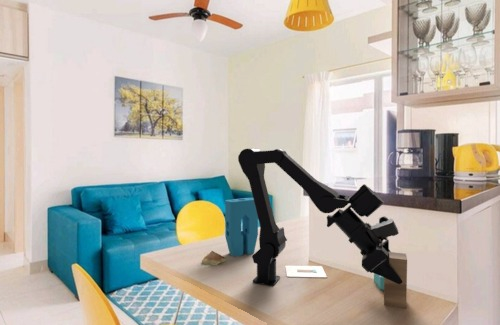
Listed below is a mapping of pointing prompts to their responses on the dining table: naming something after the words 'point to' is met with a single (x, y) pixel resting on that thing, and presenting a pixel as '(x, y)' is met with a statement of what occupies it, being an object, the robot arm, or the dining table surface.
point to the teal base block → (379, 281)
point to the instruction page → (305, 271)
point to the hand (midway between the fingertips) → (400, 275)
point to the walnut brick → (392, 290)
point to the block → (234, 235)
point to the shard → (213, 258)
